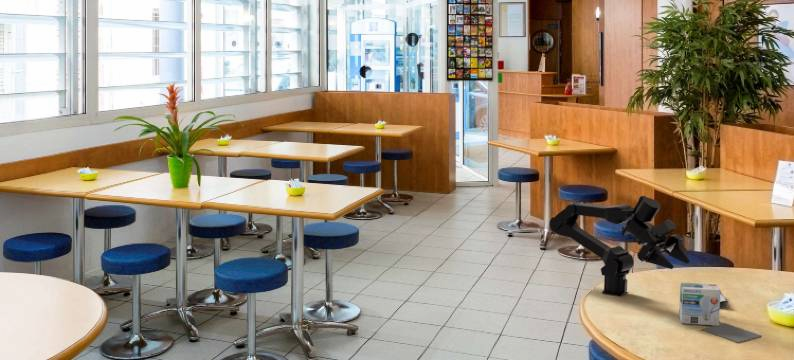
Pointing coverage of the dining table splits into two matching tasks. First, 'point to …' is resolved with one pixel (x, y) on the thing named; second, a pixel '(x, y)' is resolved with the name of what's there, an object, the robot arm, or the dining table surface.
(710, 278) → the dining table surface
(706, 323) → the light bulb box
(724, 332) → the rubber mat
